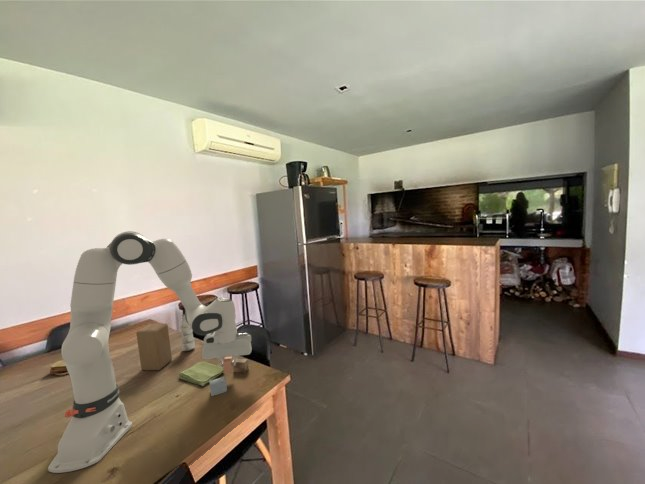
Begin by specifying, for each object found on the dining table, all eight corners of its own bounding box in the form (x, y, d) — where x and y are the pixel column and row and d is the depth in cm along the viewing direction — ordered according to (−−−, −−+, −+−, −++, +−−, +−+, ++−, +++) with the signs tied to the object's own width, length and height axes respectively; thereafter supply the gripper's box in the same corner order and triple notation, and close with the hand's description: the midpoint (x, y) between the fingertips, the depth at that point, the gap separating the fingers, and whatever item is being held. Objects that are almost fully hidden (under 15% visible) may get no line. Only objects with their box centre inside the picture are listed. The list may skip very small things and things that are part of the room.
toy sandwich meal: (77, 374, 134) (75, 364, 134) (44, 379, 132) (43, 369, 131) (92, 361, 147) (91, 352, 146) (63, 365, 144) (61, 356, 143)
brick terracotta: (231, 372, 117) (230, 361, 116) (223, 373, 116) (222, 362, 116) (233, 365, 123) (232, 354, 122) (226, 366, 122) (225, 355, 122)
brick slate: (225, 387, 116) (224, 376, 115) (227, 391, 113) (225, 379, 113) (210, 392, 113) (209, 381, 113) (211, 396, 110) (210, 384, 110)
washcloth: (203, 389, 116) (202, 381, 116) (177, 379, 125) (176, 372, 125) (227, 372, 128) (226, 365, 128) (201, 364, 136) (201, 358, 136)
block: (173, 359, 142) (168, 322, 140) (159, 370, 132) (154, 331, 130) (155, 359, 143) (150, 323, 141) (140, 370, 133) (135, 331, 131)
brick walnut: (248, 369, 129) (247, 359, 128) (245, 372, 126) (244, 362, 125) (236, 368, 130) (235, 358, 130) (233, 372, 127) (232, 361, 127)
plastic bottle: (182, 348, 153) (178, 314, 151) (195, 345, 156) (191, 311, 154) (181, 354, 148) (177, 318, 146) (195, 350, 150) (191, 315, 148)
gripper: (251, 329, 123) (253, 359, 124) (203, 334, 120) (206, 364, 121) (250, 335, 117) (252, 366, 118) (199, 340, 114) (202, 372, 115)
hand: (228, 365), depth 120 cm, fingers closed on brick terracotta, 3 cm apart
